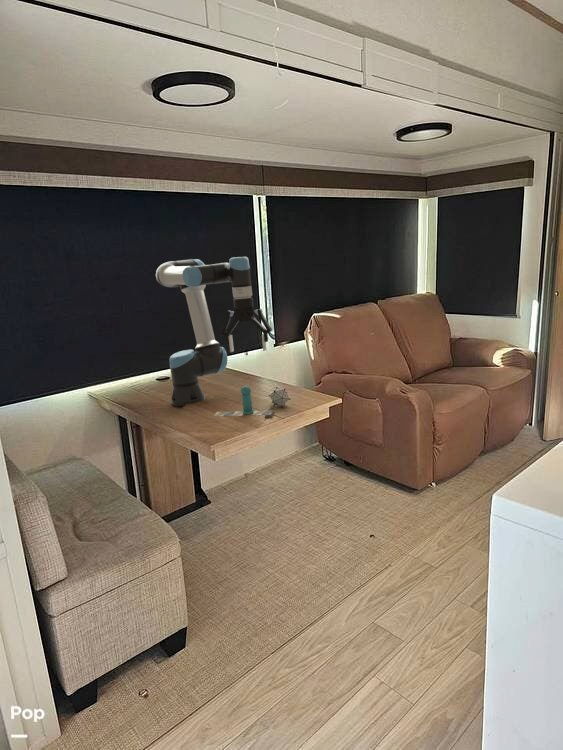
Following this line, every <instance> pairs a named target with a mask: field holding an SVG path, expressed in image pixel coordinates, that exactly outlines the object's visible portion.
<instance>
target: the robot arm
mask: <svg viewBox="0 0 563 750" xmlns="http://www.w3.org/2000/svg"><path fill="white" fill-rule="evenodd" d="M228 260H229V262H220V263H214V264H213V263H212V264H205V263H204V262H203V261H202V260H201V259H198V258H197V259H196V258H195V259H193V258H189V259H182V260H174V261H173V260H171V261H167V262H164V263H162V264H160V265H159V266H158V267H157V269H156V271H155V272H156V273H155V277H156V281H157V283H159V285H161V286H163V287H166V288H179V287H180V291H181V292H182V293H183V294H184V295H185V298H186V302H187V305H188V306H187V307H188V311H189V316H190V319H191V323H192V327H193V332H194V336H195V340H196V346H195V348H194V349H184V350H181V351H177V352H175V353H173V354H172V355H170V356H169V369H170V375H171V376H170V377H171V380H172V381H171V382H172V392H171V399H170V402H171V405H172V404H173V405H175V406H174V407H178V406H184V407H185V406H186V405H188V404H194V403H197V402H198V403H199V402H200V401H201V402H202V401H205V399H206V398H205V395H204V392H203V390H202V388H201V385H200V384H199V378H201V377H204V376H209V375H215V374H218V373H221V372H223V371H225V369H226V368H227V365H228V354H227V350H226V349H225V347H223V346H221V345H220V342H219V341H217V340H216V339H215V338H216V337H215V334H214V329H213V325H212V321H211V316H210V312H209V308H208V303H207V299H206V296H205V291H204V290H205V289H206V287H207V286H206V285H215V284H223V283H231V289H232V291H231V292H232V297H233V309H234V311H233V310H230V309H229V310H227V312H226V318H225V321H224V323H223V327H222V330H221V333H220V334H221V335H222V336H223V335H224V336H225V337H226V338H225V339H226V344H227V345H229V353H234V351H235V348H234V347H235V346H234V340H233V334H232V333H233V331H234V329H235V328H236V326H237V325H238V323H239V322H241V323H244V322H251V323H253V324H254V325H255V326H256V328H258V330H260V331H261V332H262V334H261V343H262V350H263V352H265V351H266V350H267V343H268V341H269V333H271V332H272V331H273V329H272V327H271V325H270V324H269V322H268V320H267V319H266V317H265V315H264V313H263V310H262V308H259V309H255V308H254V299H253V297H252V296H253V290H252V289H253V288H252V287H253V286H252V279H251V266H250V262H249V257H247V256H237V257H231V258H230V259H228ZM254 315H257V316H258V318H259V319H260V321H261V322H259V320H258V319H257V318H256V317H255V316H254ZM233 316H234V317H235V319H234V320H233V322H232V324H231V325H230V322H231V321H232V320H231V319H232V317H233ZM261 323H262V324H261ZM229 325H230V327H229ZM173 405H172V406H173Z"/></svg>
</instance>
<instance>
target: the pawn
mask: <svg viewBox="0 0 563 750" xmlns="http://www.w3.org/2000/svg"><path fill="white" fill-rule="evenodd" d="M251 391H252V389H251V388H250V386H248V385H244V386H242V387H241V389H240V393H241V400H242V409H243V410H242V411H243V414H244V415H249V416H251V415H250V414H253V413H254V412H253V411H254V409H253V404H252V403H253V401H252V394H251V393H252V392H251ZM243 414H242V415H243Z"/></svg>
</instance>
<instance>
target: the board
mask: <svg viewBox="0 0 563 750" xmlns="http://www.w3.org/2000/svg"><path fill="white" fill-rule="evenodd" d="M274 413H275V411H274V409H268V410H265V409H264V410H253V414H250V415H244V414H243V410H238V411H235V410H234V411H216V413H215V414H214V415H213V417H217V418H218V417H240V416H243V417H244V416H249V417H250V416H265V417H264V419H272V417H273V416H274ZM272 415H273V416H272Z"/></svg>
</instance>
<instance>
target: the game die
mask: <svg viewBox="0 0 563 750" xmlns="http://www.w3.org/2000/svg"><path fill="white" fill-rule="evenodd" d="M267 396H268V397H270V399H271V404H273V405H272V406H273V407H275V406H278V407H281V409H283V408H284V405H285V404H286V403H287V402H288V401H291V398H289V396H288V392H287V391H286V388H283V389H282V388H278V387H277V386H276V387H275V389H274V390H273V392H272V393H271V394H268V395H267Z"/></svg>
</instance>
